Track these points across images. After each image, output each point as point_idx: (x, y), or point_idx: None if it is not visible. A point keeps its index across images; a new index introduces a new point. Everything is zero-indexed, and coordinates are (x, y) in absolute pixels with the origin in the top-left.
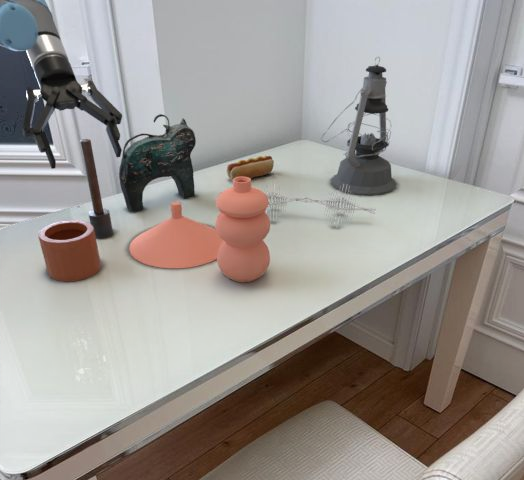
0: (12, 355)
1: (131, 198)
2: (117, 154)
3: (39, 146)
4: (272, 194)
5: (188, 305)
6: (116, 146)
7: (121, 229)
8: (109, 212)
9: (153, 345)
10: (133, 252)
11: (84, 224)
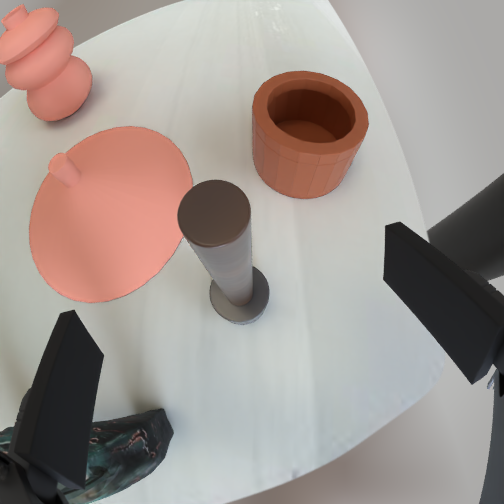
0: (342, 32)
1: (147, 413)
2: (90, 336)
3: (478, 275)
4: None
5: (154, 57)
6: (68, 328)
7: (196, 314)
8: (210, 289)
9: (210, 18)
10: (186, 182)
11: (273, 124)
